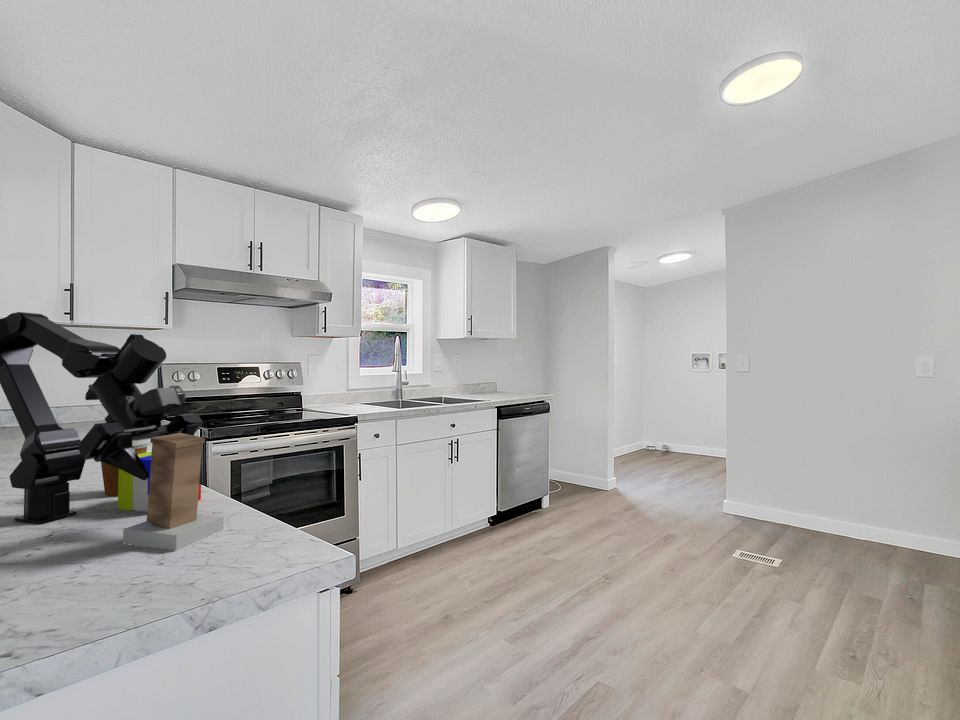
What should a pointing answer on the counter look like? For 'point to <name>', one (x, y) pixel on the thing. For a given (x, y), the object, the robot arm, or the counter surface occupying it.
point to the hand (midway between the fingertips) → (172, 472)
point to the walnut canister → (174, 479)
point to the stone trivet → (172, 533)
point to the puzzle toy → (138, 487)
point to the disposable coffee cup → (112, 472)
